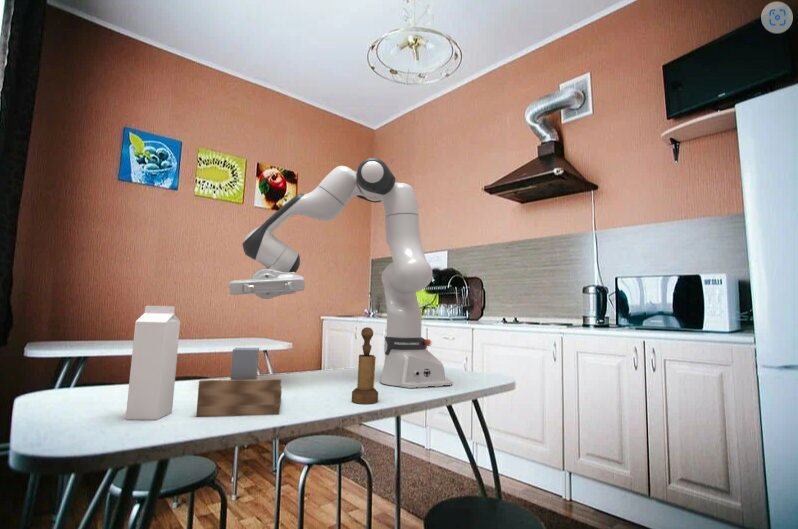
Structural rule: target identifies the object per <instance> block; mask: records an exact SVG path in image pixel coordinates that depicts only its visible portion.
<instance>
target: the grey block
mask: <svg viewBox="0 0 798 529" xmlns="http://www.w3.org/2000/svg"><path fill="white" fill-rule="evenodd" d="M259 352H260V347H235V348H233V349H232V354H231V356H232V357H231V368H230V380H257V379H258V372H259V371H258V370H259Z"/></svg>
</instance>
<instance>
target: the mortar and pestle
mask: <svg viewBox="0 0 798 529" xmlns="http://www.w3.org/2000/svg"><path fill="white" fill-rule="evenodd" d="M360 333H361V337H362V339H363V345H362V352H363V354H359V355H358V365H357V366H358V367H357V368H358V369H357V371H358V372H357V385H356V386H357V387H356V388H354V389H353V390H352V391H351V402H352V403H355V404H360V405H373V404H375V403H376V404H377V403H378V402H379V391H378V390H377V389H376V388H375V387H374V388H373V378H374V379H375V376H374V356H375V355H374V354H371V350H372V345H371V343H370V342H371V341H372V338H373V336H374V330H373V328H371V327H364V328H362V330H361V332H360Z"/></svg>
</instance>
